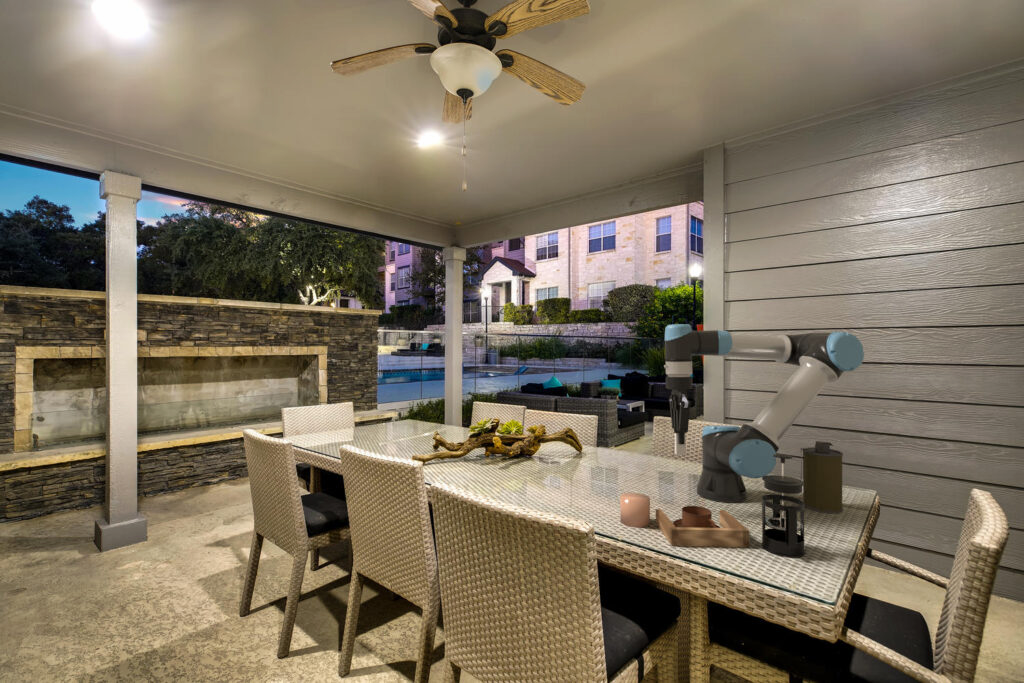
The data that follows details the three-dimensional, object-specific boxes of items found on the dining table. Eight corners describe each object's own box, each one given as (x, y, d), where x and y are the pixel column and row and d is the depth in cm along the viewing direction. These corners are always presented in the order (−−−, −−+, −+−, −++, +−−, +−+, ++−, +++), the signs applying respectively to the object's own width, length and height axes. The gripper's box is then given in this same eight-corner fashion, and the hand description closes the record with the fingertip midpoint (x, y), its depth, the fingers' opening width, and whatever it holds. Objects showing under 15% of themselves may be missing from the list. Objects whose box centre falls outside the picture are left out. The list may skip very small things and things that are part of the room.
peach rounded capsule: (645, 517, 137) (645, 493, 137) (653, 527, 129) (653, 502, 129) (617, 516, 137) (618, 492, 137) (623, 527, 129) (623, 501, 129)
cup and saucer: (728, 533, 126) (728, 510, 126) (710, 547, 117) (710, 522, 117) (684, 521, 134) (684, 499, 134) (664, 533, 125) (664, 510, 125)
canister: (839, 504, 148) (839, 440, 148) (846, 515, 139) (846, 447, 139) (798, 500, 153) (798, 437, 153) (803, 510, 143) (803, 443, 143)
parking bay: (724, 524, 131) (724, 510, 132) (749, 546, 117) (749, 530, 117) (655, 523, 132) (655, 509, 132) (671, 545, 118) (671, 529, 118)
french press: (755, 538, 122) (755, 449, 122) (795, 541, 120) (795, 450, 120) (771, 559, 110) (770, 460, 111) (815, 562, 109) (815, 462, 109)
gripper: (659, 374, 149) (661, 449, 149) (673, 377, 136) (674, 459, 136) (684, 374, 149) (685, 449, 149) (699, 377, 136) (701, 459, 136)
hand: (680, 454), depth 142 cm, fingers closed
